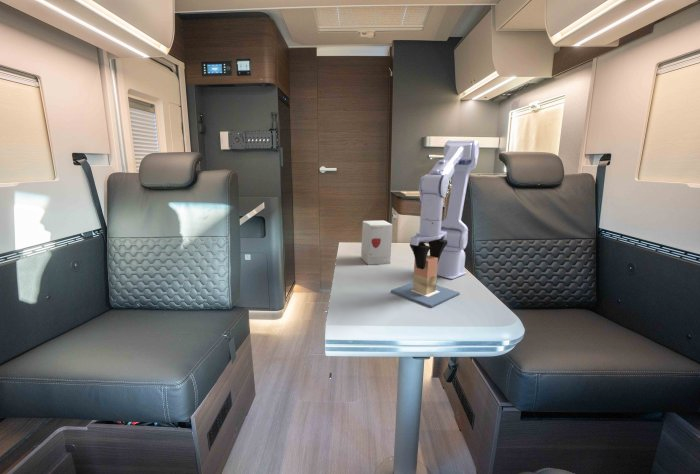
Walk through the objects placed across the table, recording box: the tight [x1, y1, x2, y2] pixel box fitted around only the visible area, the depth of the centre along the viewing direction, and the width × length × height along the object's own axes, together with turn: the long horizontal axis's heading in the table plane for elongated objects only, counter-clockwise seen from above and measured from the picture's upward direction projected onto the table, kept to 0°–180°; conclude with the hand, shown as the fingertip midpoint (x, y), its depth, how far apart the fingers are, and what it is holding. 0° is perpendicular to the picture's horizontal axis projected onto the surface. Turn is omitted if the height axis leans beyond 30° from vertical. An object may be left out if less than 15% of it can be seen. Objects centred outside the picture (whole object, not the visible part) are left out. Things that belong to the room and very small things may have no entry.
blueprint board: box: [390, 281, 461, 309], centre depth 98 cm, size 14×14×1 cm
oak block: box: [413, 273, 438, 295], centre depth 97 cm, size 5×5×5 cm
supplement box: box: [360, 219, 393, 266], centre depth 126 cm, size 9×9×15 cm
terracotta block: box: [413, 254, 438, 278], centre depth 96 cm, size 5×5×5 cm
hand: (427, 265), depth 96 cm, fingers open, 6 cm apart
